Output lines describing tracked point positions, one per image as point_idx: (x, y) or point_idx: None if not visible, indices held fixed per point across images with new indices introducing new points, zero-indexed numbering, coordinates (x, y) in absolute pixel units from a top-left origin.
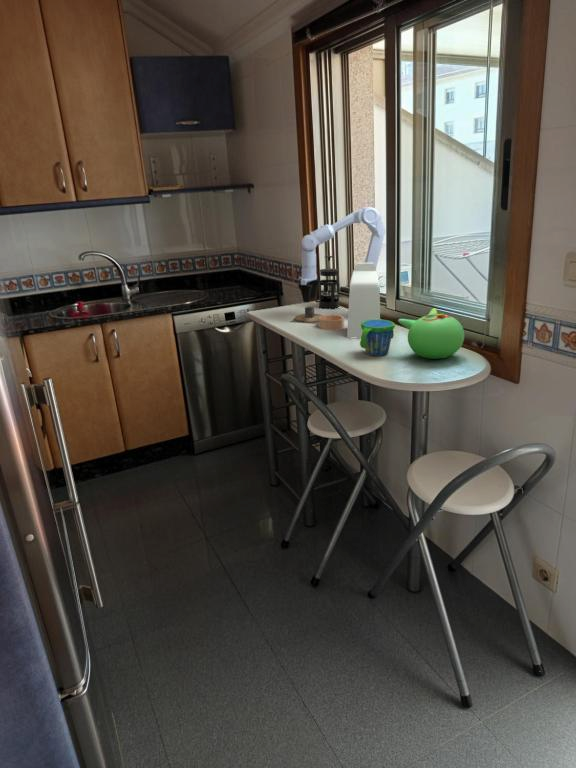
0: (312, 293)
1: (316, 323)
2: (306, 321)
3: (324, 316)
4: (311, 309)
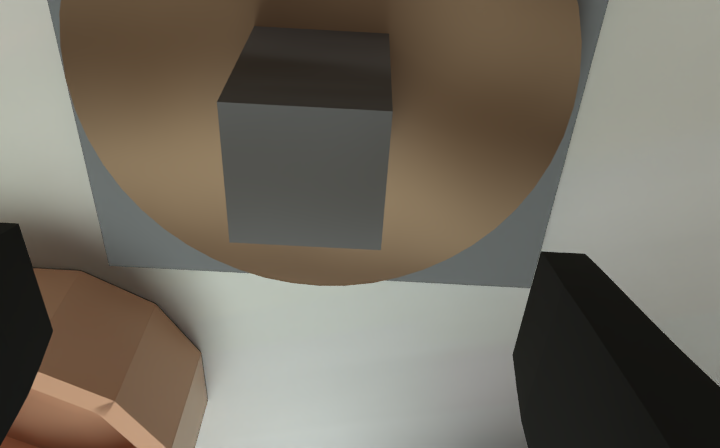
0: (559, 428)
1: (116, 225)
2: (81, 98)
3: (66, 394)
4: (233, 222)
